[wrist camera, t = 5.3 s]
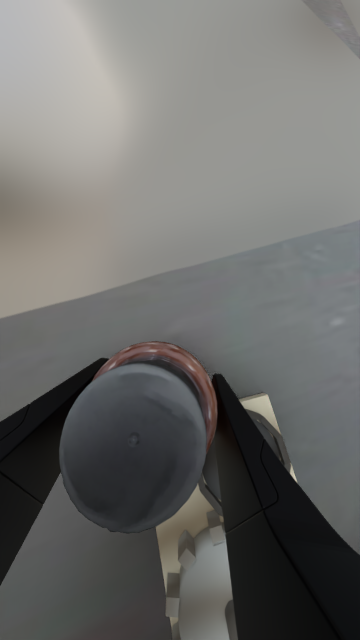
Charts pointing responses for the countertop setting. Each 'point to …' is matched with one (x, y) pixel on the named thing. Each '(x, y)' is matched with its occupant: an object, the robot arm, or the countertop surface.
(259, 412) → the gear board
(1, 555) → the robot arm
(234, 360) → the countertop surface
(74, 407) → the supplement bottle
